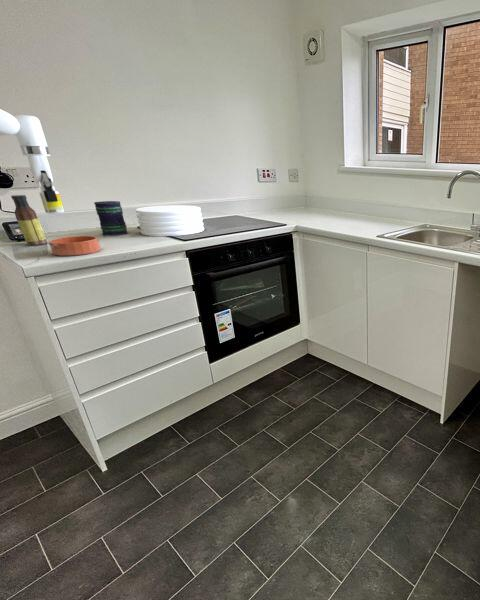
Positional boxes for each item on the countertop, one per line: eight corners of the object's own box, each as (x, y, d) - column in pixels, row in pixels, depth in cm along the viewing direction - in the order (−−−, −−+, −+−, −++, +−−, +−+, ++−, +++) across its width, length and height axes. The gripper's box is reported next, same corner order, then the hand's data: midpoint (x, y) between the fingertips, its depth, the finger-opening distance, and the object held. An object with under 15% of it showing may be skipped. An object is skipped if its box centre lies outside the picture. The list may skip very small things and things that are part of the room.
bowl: (55, 258, 128) (50, 245, 126) (51, 251, 137) (46, 238, 135) (104, 252, 138) (100, 240, 136) (97, 246, 146) (94, 234, 145)
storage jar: (98, 234, 169) (89, 202, 163) (120, 231, 177) (112, 200, 171) (110, 236, 165) (101, 203, 159) (132, 233, 173) (124, 202, 168)
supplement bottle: (68, 212, 143) (60, 186, 139) (54, 214, 138) (46, 187, 134) (56, 211, 144) (47, 185, 140) (41, 213, 138) (33, 186, 135)
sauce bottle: (44, 241, 151) (28, 194, 143) (50, 243, 148) (33, 195, 140) (23, 244, 145) (5, 194, 138) (29, 246, 142) (10, 196, 135)
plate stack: (131, 230, 178) (126, 207, 174) (188, 224, 200) (184, 204, 196) (155, 238, 164) (150, 213, 159) (214, 231, 185) (211, 209, 181)
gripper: (20, 151, 135) (36, 199, 142) (22, 151, 124) (40, 203, 131) (47, 151, 140) (61, 198, 147) (51, 152, 130) (66, 202, 136)
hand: (51, 200), depth 139 cm, fingers closed on supplement bottle, 5 cm apart
